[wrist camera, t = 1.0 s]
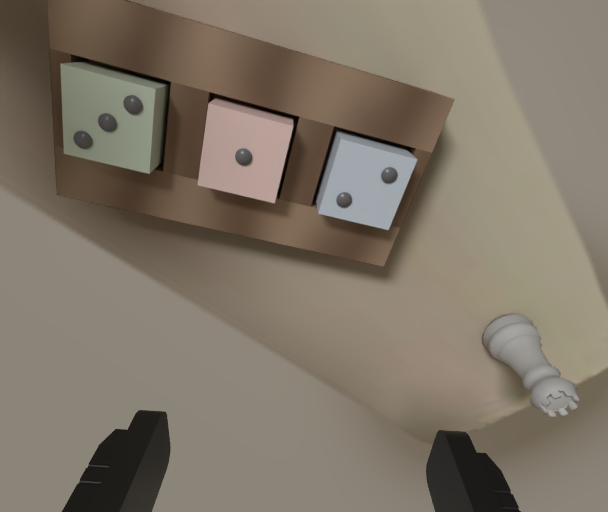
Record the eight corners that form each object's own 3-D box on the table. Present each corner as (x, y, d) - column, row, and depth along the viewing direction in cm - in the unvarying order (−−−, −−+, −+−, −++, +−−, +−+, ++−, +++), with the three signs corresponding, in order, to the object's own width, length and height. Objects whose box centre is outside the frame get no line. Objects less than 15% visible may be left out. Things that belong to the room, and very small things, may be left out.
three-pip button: (85, 143, 22) (62, 154, 20) (84, 61, 20) (59, 63, 18) (162, 161, 23) (148, 174, 21) (168, 84, 21) (154, 89, 19)
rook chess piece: (477, 320, 33) (526, 394, 26) (529, 304, 32) (594, 376, 26) (483, 355, 35) (531, 433, 28) (533, 341, 35) (594, 417, 28)
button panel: (84, 176, 26) (56, 194, 23) (81, -14, 21) (45, -23, 18) (373, 243, 29) (383, 266, 26) (433, 92, 24) (454, 99, 21)
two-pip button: (315, 198, 24) (318, 214, 22) (336, 130, 22) (341, 139, 20) (380, 214, 25) (388, 230, 23) (405, 148, 23) (418, 160, 21)
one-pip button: (205, 172, 23) (197, 185, 21) (216, 97, 21) (208, 103, 19) (276, 189, 24) (274, 204, 22) (293, 118, 22) (293, 126, 20)
